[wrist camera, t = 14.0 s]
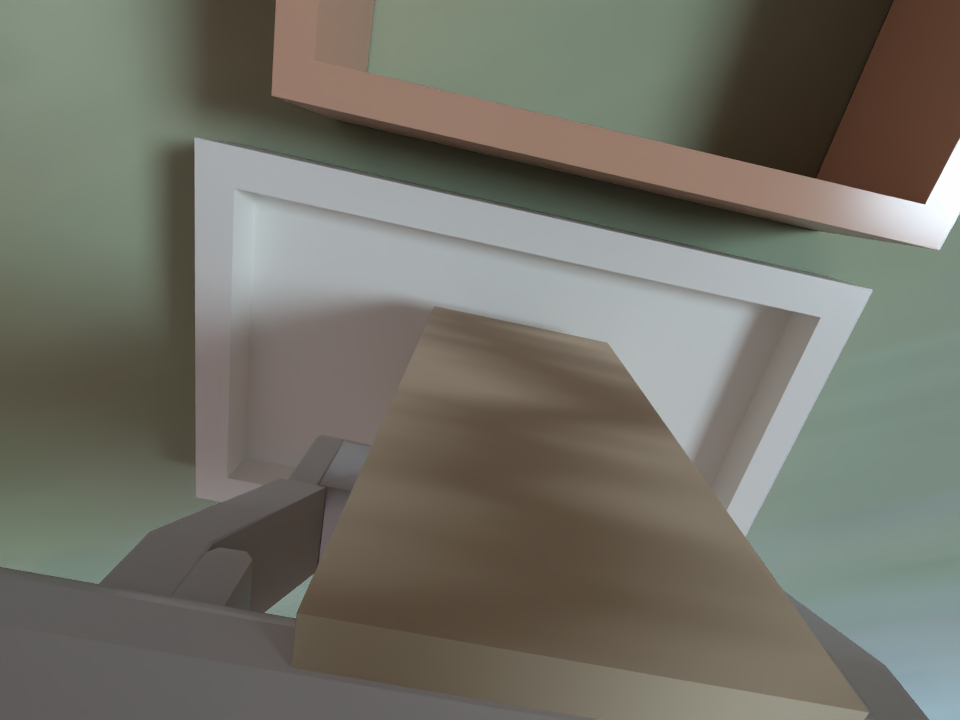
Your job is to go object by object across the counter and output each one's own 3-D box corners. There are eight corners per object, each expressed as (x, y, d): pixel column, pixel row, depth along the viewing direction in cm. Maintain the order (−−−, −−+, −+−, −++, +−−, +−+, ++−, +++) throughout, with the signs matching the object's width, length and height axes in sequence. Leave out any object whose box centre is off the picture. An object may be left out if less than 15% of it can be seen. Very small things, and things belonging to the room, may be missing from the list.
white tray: (824, 275, 15) (872, 289, 13) (693, 551, 18) (716, 593, 17) (235, 142, 14) (194, 137, 12) (227, 463, 18) (195, 497, 16)
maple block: (607, 342, 13) (870, 712, 4) (560, 486, 15) (669, 973, 6) (434, 306, 13) (297, 612, 4) (407, 456, 15) (266, 917, 6)
